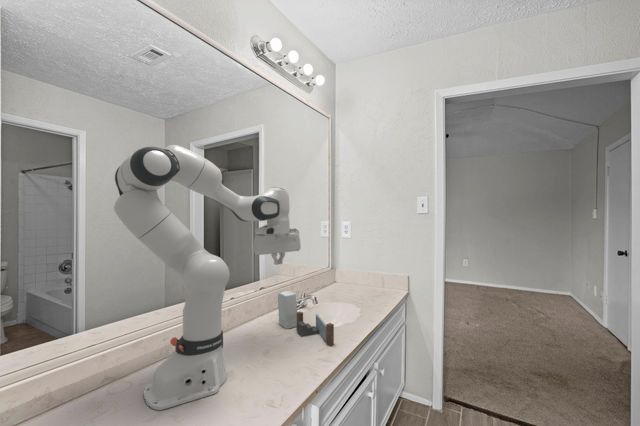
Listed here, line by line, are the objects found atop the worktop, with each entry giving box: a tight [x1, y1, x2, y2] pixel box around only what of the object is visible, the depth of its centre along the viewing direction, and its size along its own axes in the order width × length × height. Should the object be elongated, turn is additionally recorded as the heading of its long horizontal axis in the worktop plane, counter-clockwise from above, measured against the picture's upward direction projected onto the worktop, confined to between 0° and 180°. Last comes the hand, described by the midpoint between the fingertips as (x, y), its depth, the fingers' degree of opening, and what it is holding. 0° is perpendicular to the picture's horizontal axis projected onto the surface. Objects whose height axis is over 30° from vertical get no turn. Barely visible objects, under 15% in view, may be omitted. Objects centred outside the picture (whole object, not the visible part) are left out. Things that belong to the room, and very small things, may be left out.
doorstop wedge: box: [296, 320, 320, 338], centre depth 126 cm, size 8×5×5 cm, turn 114°
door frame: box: [297, 311, 335, 347], centre depth 122 cm, size 2×21×8 cm, turn 43°
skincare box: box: [277, 290, 298, 330], centre depth 136 cm, size 8×6×15 cm
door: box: [315, 313, 327, 342], centre depth 124 cm, size 2×15×6 cm, turn 16°
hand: (278, 264), depth 117 cm, fingers closed
